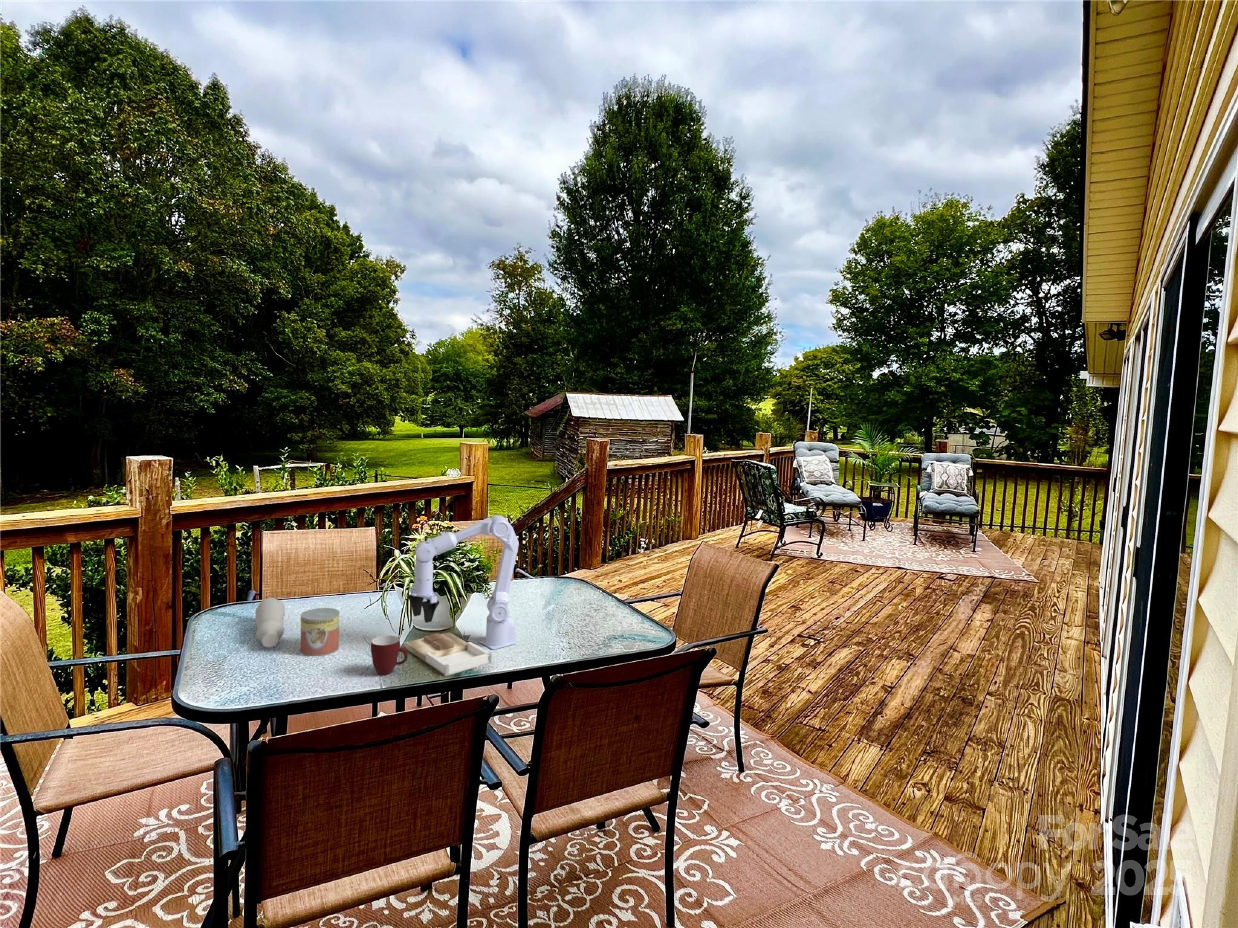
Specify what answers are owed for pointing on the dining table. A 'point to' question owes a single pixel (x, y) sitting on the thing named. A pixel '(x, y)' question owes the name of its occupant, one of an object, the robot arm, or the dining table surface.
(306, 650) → the canned food
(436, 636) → the tile
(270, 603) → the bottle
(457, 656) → the tray
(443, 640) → the tile
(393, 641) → the mug
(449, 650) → the board
